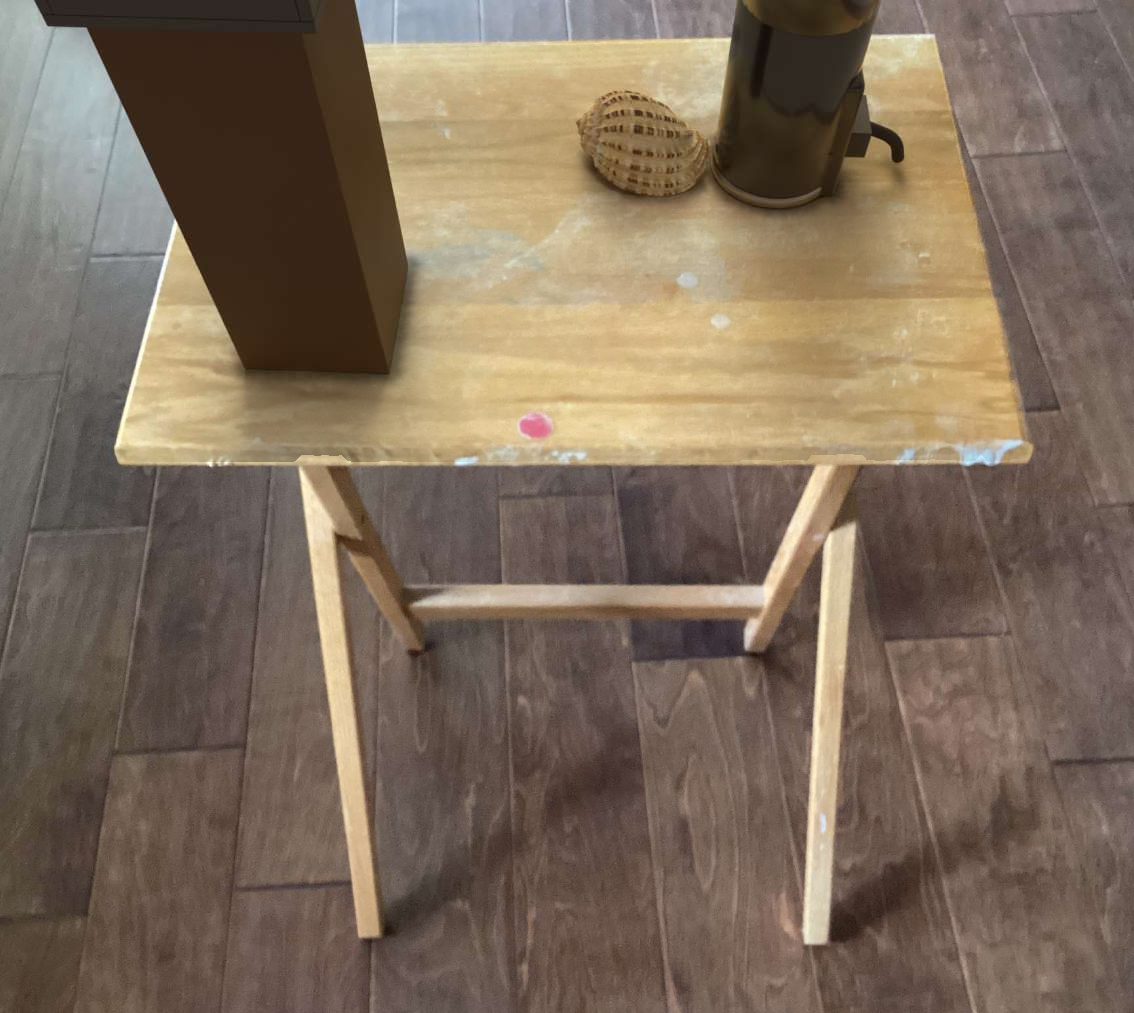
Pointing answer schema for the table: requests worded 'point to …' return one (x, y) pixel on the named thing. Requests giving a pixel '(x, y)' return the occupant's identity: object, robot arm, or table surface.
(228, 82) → the bin
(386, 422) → the table surface
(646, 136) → the seashell
